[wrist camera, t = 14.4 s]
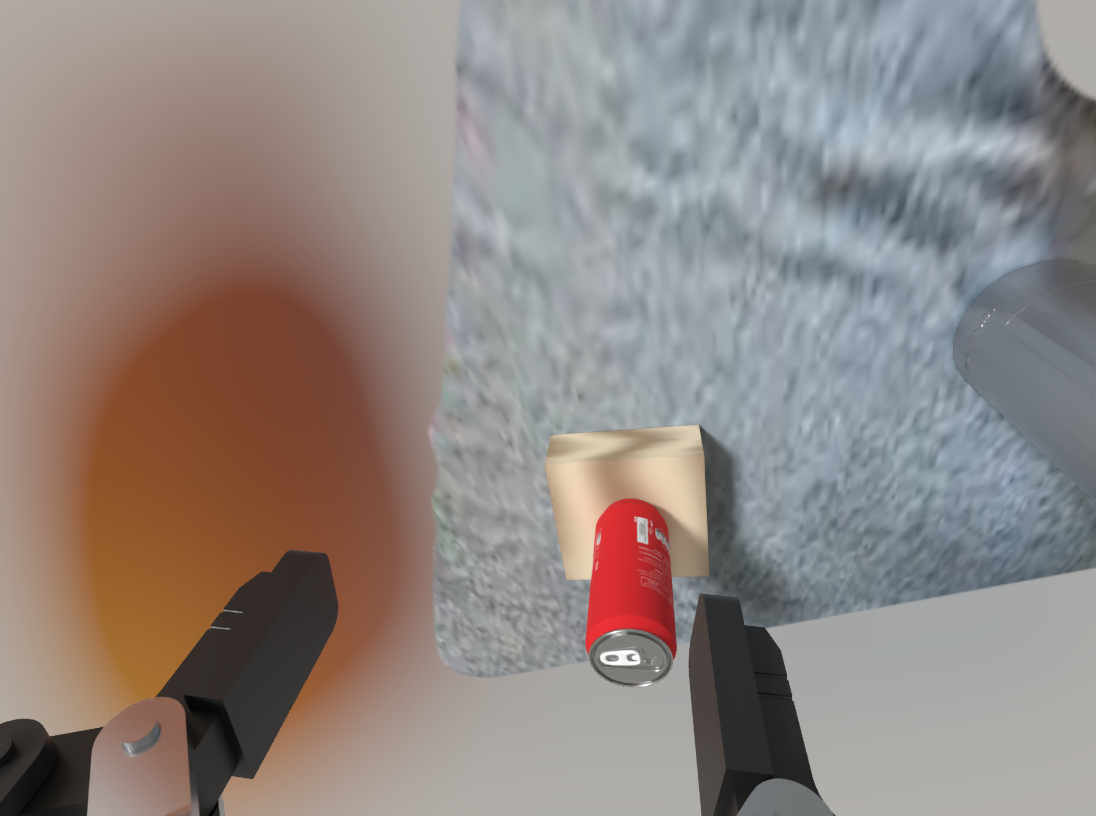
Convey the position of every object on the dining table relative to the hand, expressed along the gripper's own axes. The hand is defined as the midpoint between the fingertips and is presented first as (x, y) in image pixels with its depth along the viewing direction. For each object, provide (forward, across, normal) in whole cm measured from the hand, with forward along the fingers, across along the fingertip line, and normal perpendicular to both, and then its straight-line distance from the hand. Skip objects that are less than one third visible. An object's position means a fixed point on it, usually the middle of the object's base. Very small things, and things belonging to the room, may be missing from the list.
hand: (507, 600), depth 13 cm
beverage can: (+26, -4, +19) cm, 33 cm away
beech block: (+30, -4, +19) cm, 36 cm away
